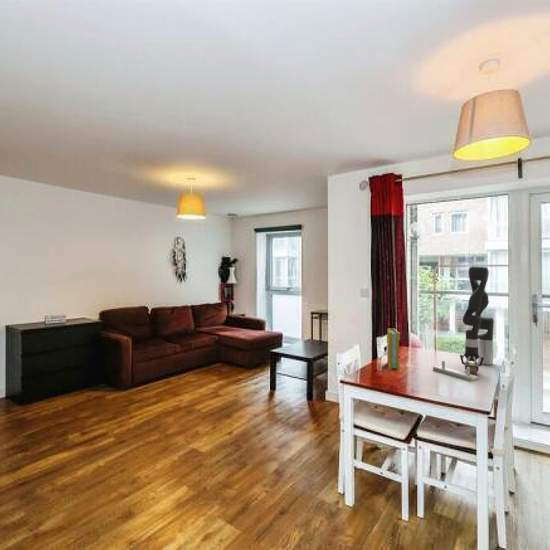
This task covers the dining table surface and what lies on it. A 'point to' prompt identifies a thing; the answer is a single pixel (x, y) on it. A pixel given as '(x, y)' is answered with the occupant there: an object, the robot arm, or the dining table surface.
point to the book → (393, 348)
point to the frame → (472, 367)
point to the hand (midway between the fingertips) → (471, 371)
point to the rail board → (456, 372)
